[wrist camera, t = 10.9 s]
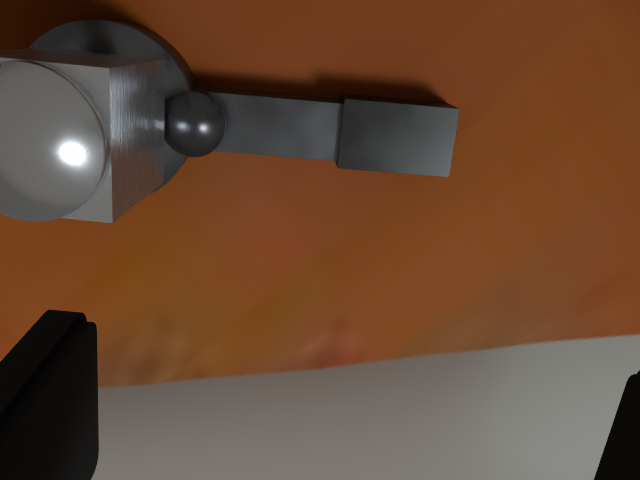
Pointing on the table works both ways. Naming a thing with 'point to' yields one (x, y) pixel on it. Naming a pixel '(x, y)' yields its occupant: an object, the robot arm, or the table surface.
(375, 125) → the ratchet
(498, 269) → the table surface
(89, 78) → the domed grey cube
